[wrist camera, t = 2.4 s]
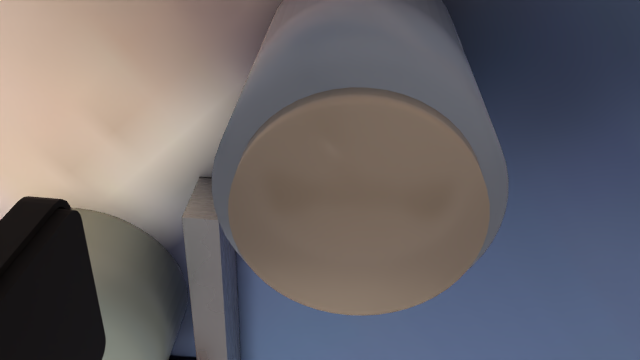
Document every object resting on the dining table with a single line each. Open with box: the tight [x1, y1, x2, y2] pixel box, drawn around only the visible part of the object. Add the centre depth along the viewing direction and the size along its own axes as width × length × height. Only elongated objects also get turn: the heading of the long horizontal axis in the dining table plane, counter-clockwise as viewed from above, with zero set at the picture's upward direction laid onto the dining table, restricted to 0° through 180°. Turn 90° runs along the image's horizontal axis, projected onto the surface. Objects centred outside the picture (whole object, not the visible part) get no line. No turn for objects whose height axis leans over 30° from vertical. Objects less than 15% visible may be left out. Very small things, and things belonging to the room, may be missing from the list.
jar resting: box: [71, 208, 188, 360], centre depth 18 cm, size 6×6×6 cm
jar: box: [212, 0, 508, 315], centre depth 13 cm, size 5×5×7 cm
